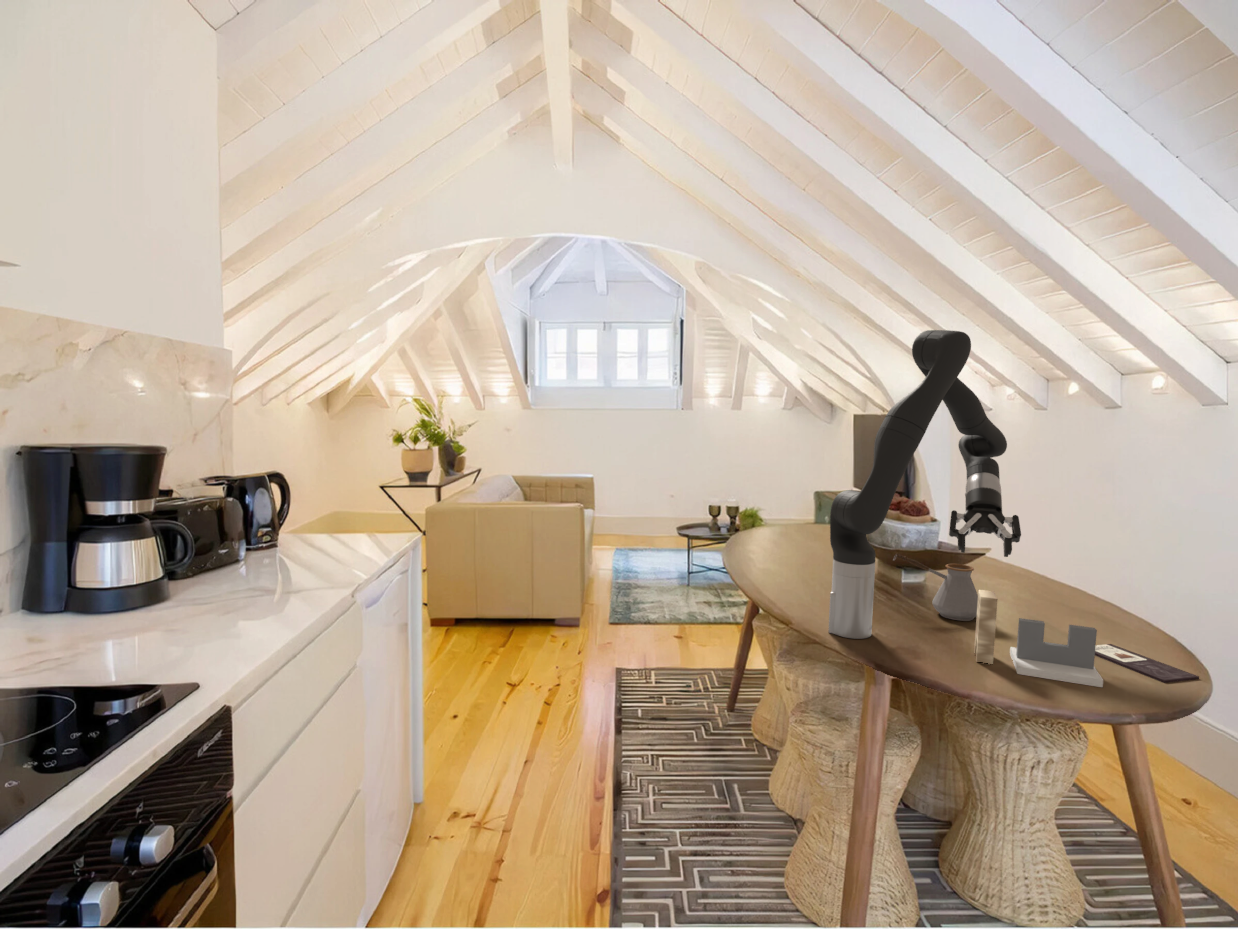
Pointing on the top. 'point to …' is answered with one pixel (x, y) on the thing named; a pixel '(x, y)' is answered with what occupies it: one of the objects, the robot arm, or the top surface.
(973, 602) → the coffee pot
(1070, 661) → the grey notched stand
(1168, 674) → the chocolate bar
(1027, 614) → the top surface
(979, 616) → the birch slotted plate
